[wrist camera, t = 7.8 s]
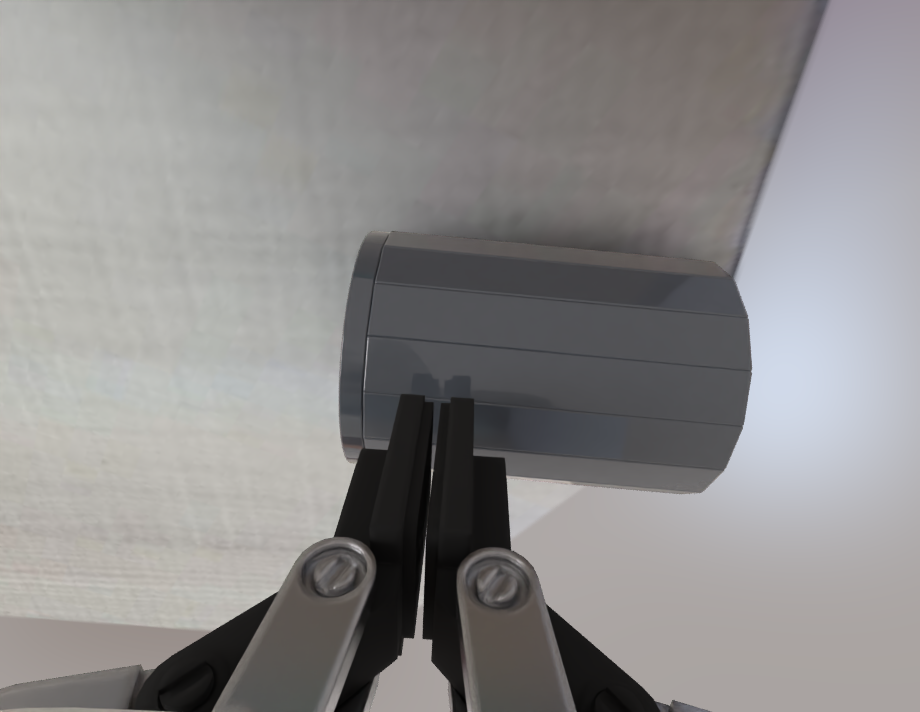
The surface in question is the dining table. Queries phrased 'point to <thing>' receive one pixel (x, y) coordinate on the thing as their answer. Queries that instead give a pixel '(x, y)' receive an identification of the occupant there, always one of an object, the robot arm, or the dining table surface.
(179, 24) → the dining table surface
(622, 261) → the cup
